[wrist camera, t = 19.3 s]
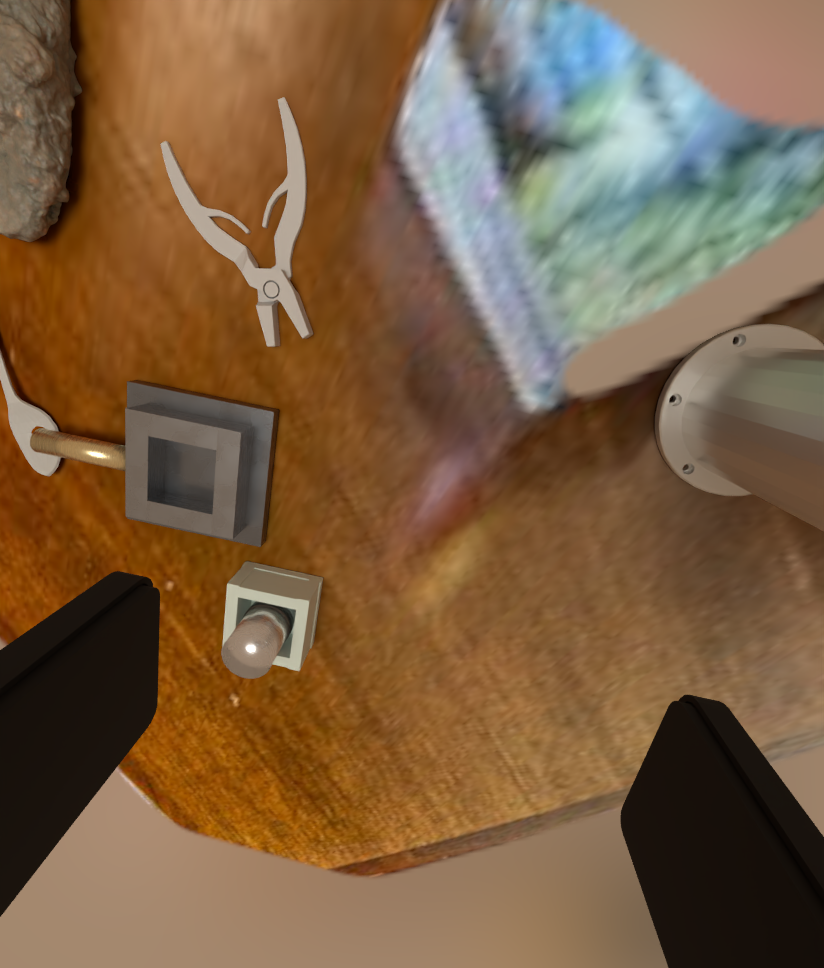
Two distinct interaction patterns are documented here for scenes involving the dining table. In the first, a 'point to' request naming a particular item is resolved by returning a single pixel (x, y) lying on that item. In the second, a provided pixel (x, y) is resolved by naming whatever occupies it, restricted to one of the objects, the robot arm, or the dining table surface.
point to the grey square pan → (186, 460)
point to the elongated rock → (35, 114)
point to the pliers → (276, 279)
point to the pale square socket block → (279, 591)
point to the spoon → (27, 425)
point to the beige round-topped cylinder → (257, 639)
